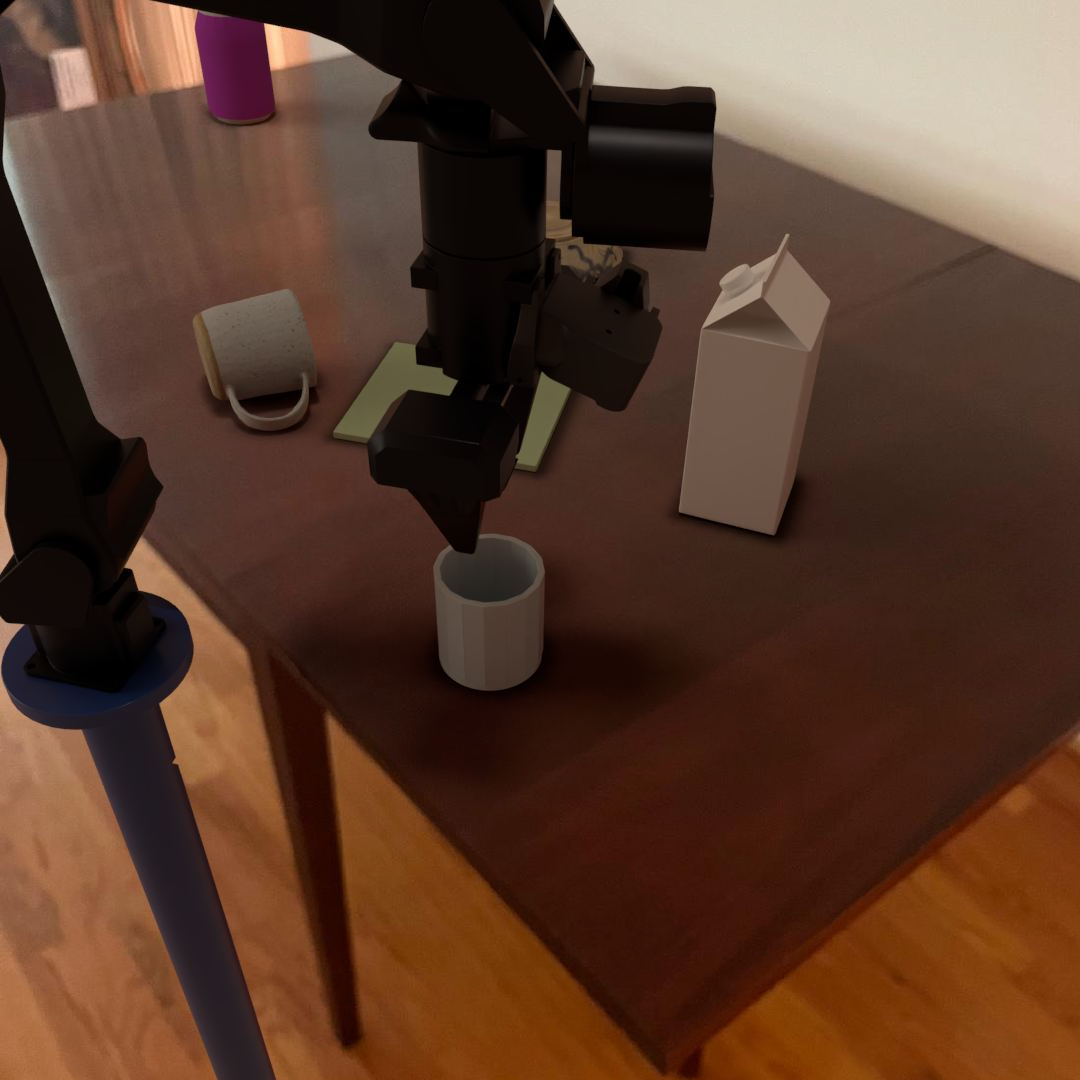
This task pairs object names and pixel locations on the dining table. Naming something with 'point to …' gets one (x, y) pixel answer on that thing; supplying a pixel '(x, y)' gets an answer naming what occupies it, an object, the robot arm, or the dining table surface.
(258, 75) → the beverage can
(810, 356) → the milk carton
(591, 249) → the decorative bowl
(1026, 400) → the dining table surface
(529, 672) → the container
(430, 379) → the mat
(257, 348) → the ceramic mug
